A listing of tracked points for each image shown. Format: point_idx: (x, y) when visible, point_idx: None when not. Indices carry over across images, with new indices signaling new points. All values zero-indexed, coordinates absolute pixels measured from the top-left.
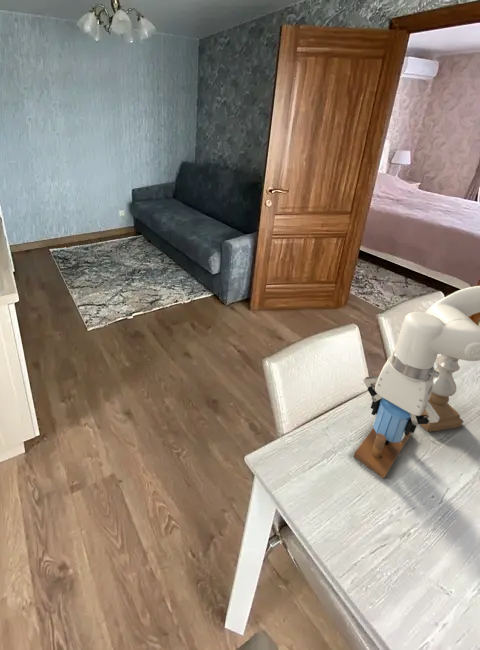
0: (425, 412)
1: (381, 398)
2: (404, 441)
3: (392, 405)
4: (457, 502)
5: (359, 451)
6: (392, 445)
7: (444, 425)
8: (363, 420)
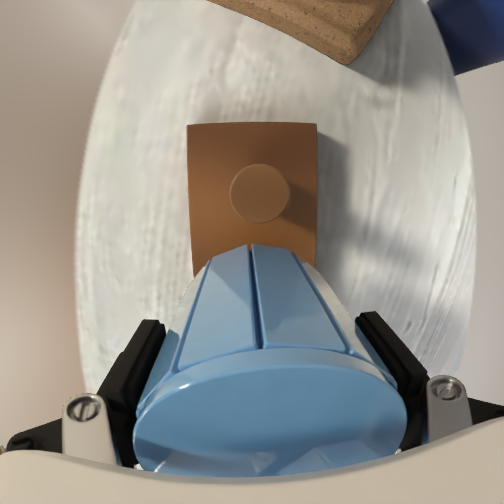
0: (327, 6)
1: (125, 396)
2: (313, 216)
3: (243, 475)
4: (452, 288)
5: None
6: None
7: (383, 16)
8: (146, 215)
